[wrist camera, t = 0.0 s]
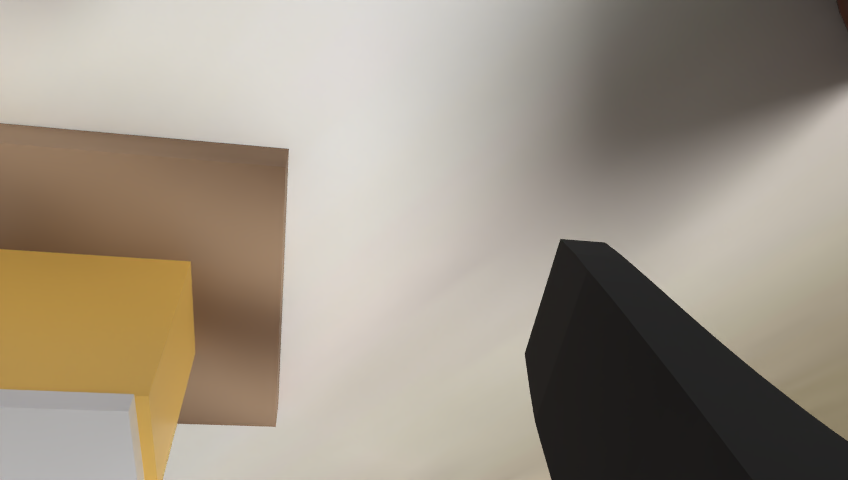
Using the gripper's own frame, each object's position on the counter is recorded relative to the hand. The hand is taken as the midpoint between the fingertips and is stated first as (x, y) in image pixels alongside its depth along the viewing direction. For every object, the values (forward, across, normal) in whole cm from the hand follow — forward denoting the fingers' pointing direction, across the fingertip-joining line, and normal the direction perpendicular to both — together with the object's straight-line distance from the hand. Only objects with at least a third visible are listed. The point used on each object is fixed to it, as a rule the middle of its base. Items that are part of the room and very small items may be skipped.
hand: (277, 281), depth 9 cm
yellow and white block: (+9, +5, +8) cm, 14 cm away
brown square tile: (+10, +5, +8) cm, 14 cm away
